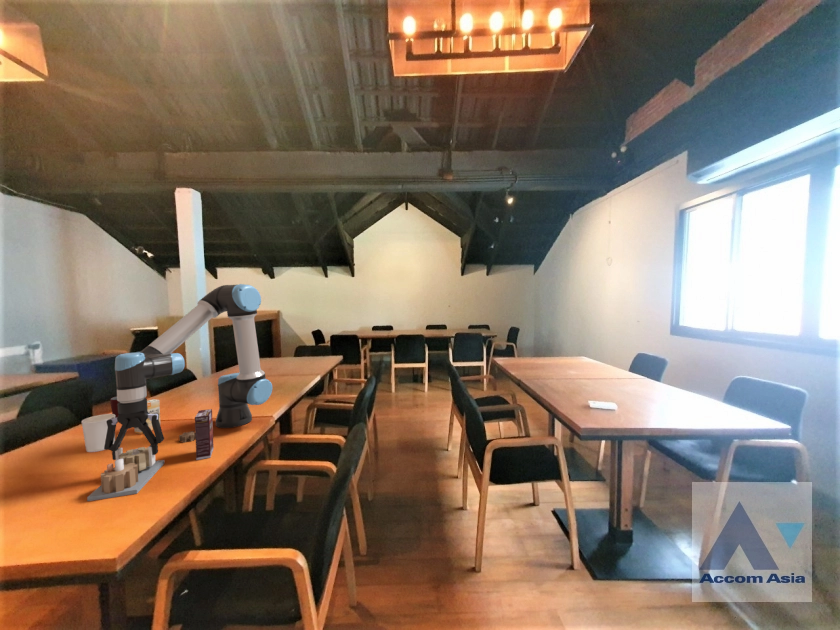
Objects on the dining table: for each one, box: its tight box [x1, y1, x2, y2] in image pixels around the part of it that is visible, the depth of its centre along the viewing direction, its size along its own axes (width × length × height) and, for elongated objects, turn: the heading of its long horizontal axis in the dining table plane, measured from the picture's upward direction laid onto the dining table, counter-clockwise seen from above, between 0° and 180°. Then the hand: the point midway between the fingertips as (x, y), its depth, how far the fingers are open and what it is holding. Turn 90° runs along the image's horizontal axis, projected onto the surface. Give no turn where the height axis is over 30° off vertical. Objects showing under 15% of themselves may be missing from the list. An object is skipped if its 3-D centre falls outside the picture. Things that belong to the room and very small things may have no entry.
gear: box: [178, 430, 196, 444], centre depth 142 cm, size 6×6×2 cm
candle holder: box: [81, 413, 116, 453], centre depth 135 cm, size 10×10×12 cm
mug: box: [109, 395, 119, 423], centre depth 168 cm, size 12×9×11 cm
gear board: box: [86, 448, 165, 502], centre depth 110 cm, size 12×20×9 cm, turn 17°
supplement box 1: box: [134, 399, 161, 435], centre depth 152 cm, size 8×5×13 cm, turn 161°
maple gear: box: [119, 446, 149, 471], centre depth 114 cm, size 8×8×5 cm
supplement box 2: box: [194, 408, 215, 461], centre depth 128 cm, size 9×5×16 cm, turn 25°
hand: (136, 466), depth 114 cm, fingers closed on maple gear, 8 cm apart
